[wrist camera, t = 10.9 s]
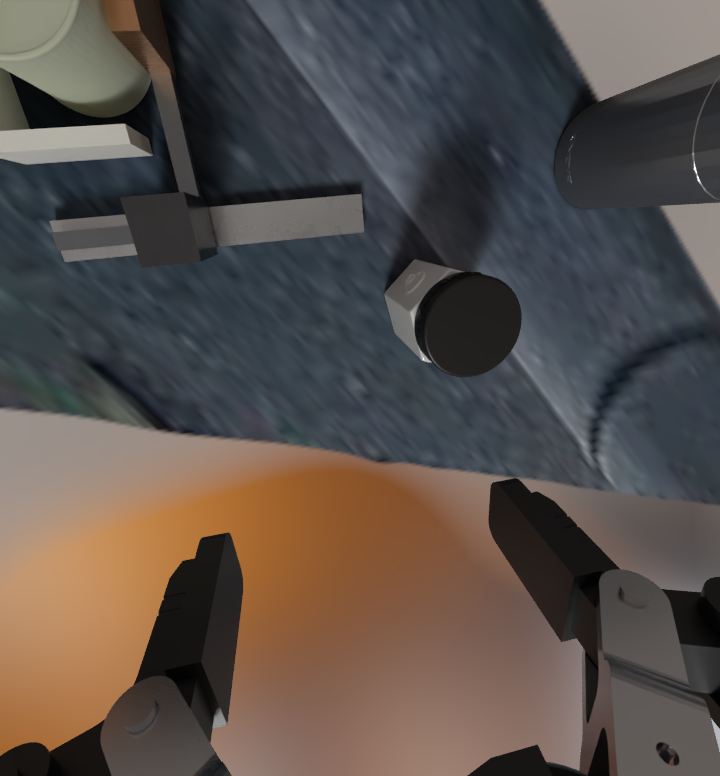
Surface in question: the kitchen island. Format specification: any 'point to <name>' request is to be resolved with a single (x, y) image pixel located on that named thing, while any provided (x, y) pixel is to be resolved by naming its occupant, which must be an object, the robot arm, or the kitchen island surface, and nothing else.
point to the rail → (244, 223)
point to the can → (71, 55)
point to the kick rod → (187, 207)
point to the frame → (60, 136)
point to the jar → (454, 317)
